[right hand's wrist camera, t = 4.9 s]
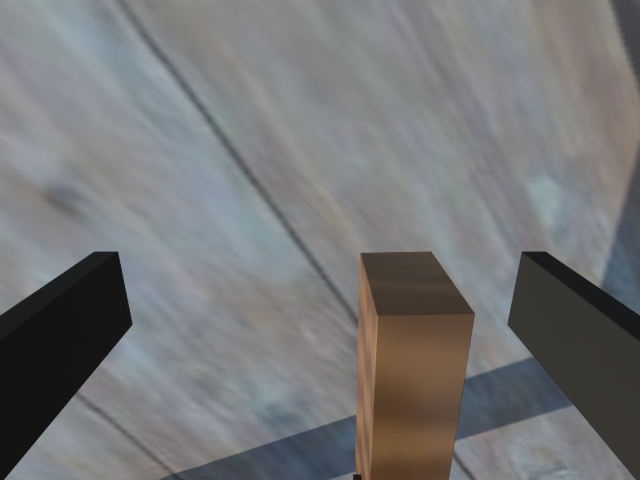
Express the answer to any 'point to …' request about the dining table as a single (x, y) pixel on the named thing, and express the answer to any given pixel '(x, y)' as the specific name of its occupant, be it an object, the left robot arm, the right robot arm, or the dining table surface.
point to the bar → (409, 366)
